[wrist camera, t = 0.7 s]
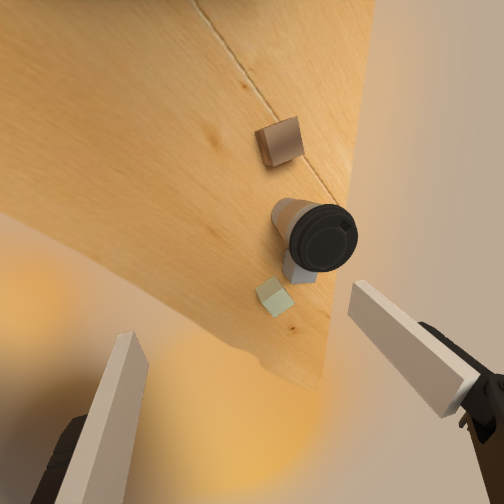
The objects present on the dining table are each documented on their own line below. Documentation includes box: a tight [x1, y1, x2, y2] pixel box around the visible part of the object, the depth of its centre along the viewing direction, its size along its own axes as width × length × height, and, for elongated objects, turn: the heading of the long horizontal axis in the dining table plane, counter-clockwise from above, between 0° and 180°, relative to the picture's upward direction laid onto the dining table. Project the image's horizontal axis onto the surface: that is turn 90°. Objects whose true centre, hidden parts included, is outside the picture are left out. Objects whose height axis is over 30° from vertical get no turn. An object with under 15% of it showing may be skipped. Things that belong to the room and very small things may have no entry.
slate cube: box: [282, 249, 318, 284], centre depth 44 cm, size 5×5×5 cm
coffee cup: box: [271, 198, 358, 272], centre depth 34 cm, size 9×9×15 cm
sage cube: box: [255, 275, 295, 318], centre depth 45 cm, size 5×5×5 cm
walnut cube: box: [255, 116, 305, 167], centre depth 33 cm, size 5×5×5 cm
